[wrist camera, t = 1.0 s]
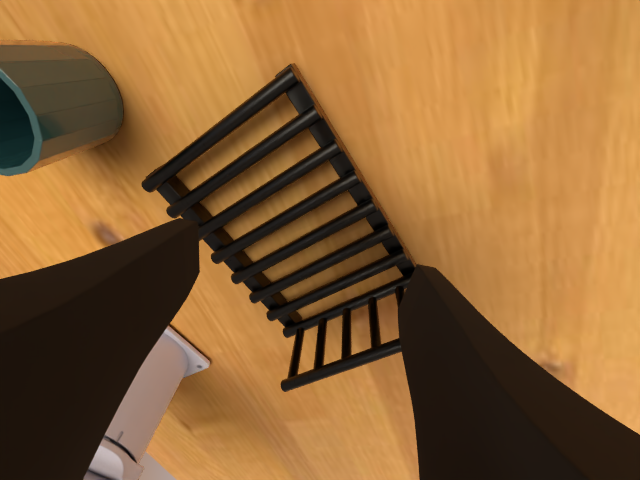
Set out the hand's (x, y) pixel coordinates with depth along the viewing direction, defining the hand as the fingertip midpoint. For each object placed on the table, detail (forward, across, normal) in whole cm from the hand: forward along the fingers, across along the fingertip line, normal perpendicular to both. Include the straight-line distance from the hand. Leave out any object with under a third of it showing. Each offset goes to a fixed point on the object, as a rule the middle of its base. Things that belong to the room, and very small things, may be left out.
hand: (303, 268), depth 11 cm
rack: (+10, +1, +4) cm, 11 cm away
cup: (+10, +15, -1) cm, 18 cm away
